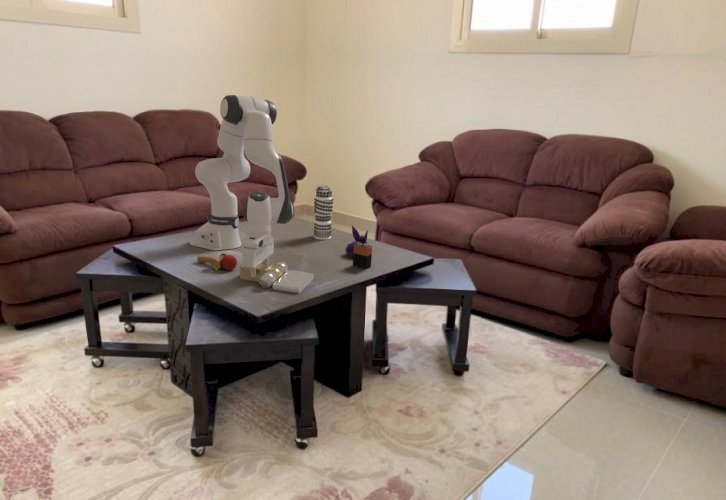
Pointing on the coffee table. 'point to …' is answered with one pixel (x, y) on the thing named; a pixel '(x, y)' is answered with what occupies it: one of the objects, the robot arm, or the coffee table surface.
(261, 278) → the plate with metal balls
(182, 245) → the coffee table surface
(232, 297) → the coffee table surface
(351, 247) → the creature
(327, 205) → the black white tall cylinder
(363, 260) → the battery
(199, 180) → the robot arm
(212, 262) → the kendama
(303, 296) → the coffee table surface
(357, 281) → the coffee table surface
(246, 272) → the gold bar
